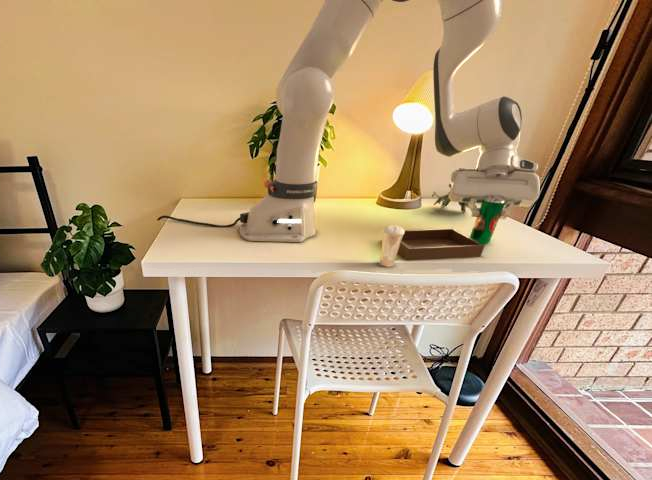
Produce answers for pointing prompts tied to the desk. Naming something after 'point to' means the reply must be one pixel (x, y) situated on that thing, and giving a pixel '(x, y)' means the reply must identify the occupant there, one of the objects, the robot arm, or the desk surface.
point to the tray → (438, 245)
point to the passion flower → (447, 200)
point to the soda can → (487, 218)
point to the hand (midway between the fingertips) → (488, 217)
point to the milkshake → (390, 244)
